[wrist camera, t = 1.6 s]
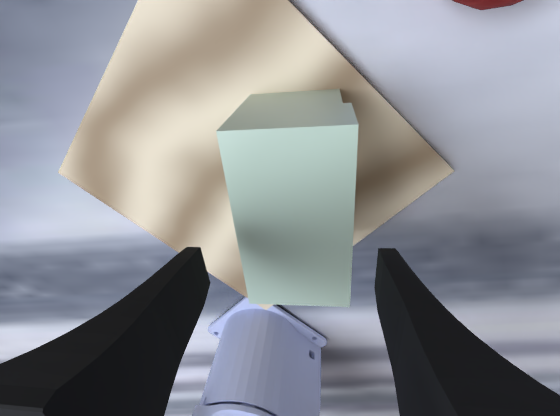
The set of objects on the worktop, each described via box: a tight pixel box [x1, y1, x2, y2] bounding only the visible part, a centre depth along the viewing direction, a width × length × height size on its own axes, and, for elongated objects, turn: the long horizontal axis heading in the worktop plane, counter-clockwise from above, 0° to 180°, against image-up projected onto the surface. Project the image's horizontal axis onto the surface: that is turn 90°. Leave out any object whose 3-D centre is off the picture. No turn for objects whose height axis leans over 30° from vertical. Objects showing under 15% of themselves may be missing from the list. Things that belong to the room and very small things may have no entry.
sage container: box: [216, 89, 359, 307], centre depth 18 cm, size 10×6×7 cm, turn 5°
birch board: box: [58, 0, 454, 310], centre depth 22 cm, size 20×19×1 cm
